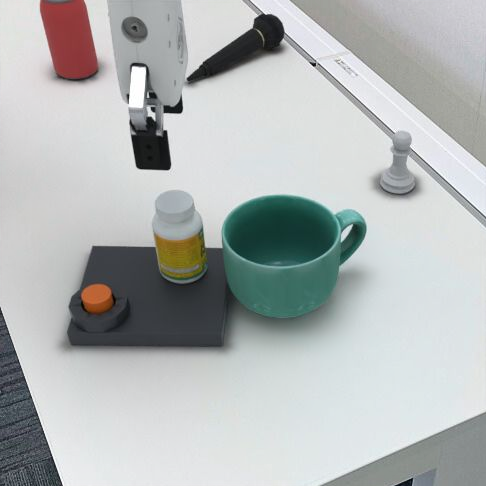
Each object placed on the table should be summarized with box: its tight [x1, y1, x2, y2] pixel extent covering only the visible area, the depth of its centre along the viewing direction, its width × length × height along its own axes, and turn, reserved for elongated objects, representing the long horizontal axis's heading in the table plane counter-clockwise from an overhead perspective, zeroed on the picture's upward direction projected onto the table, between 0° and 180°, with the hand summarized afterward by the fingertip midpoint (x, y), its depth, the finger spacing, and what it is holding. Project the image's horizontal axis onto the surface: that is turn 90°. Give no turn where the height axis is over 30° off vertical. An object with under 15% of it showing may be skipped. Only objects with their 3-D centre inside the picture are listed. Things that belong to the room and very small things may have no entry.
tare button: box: [81, 284, 114, 314], centre depth 81 cm, size 3×3×2 cm
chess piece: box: [379, 130, 416, 195], centre depth 101 cm, size 5×5×8 cm
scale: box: [66, 245, 230, 347], centre depth 85 cm, size 16×14×4 cm
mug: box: [221, 193, 368, 319], centre depth 85 cm, size 17×13×10 cm
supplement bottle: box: [151, 189, 207, 284], centre depth 84 cm, size 5×5×10 cm
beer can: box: [39, 0, 99, 80], centre depth 115 cm, size 7×7×12 cm
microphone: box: [186, 13, 286, 83], centre depth 123 cm, size 6×6×20 cm
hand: (161, 138), depth 75 cm, fingers open, 9 cm apart
